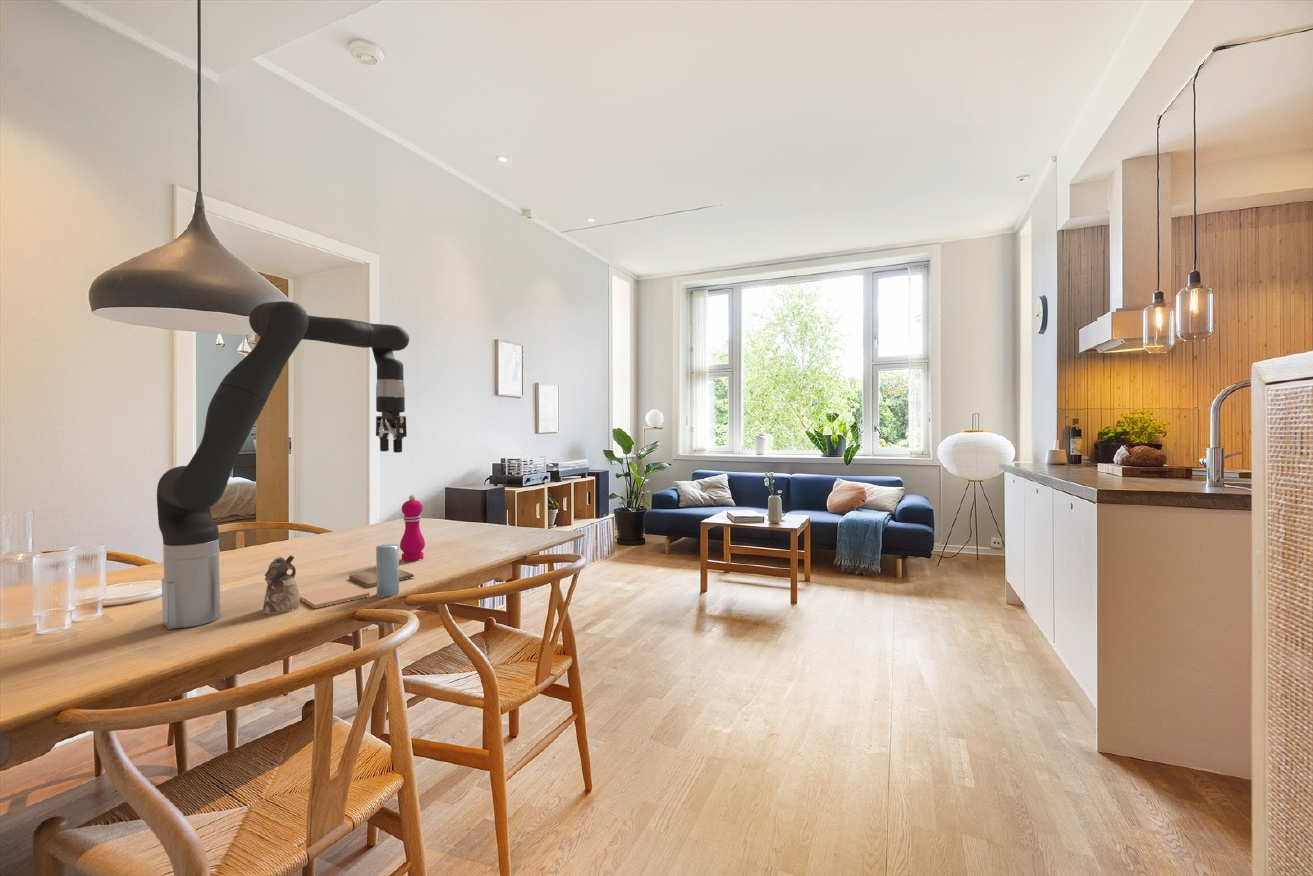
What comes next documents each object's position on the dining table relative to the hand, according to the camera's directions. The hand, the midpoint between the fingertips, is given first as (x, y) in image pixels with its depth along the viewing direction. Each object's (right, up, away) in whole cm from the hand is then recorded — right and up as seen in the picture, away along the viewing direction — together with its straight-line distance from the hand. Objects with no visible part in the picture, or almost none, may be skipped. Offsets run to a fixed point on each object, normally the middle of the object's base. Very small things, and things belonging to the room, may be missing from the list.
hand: (391, 451), depth 165 cm
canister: (+10, -35, -24) cm, 43 cm away
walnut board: (+2, -34, -10) cm, 36 cm away
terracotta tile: (-2, -35, -27) cm, 44 cm away
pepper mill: (+1, -34, +12) cm, 36 cm away
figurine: (-9, -35, -35) cm, 50 cm away
